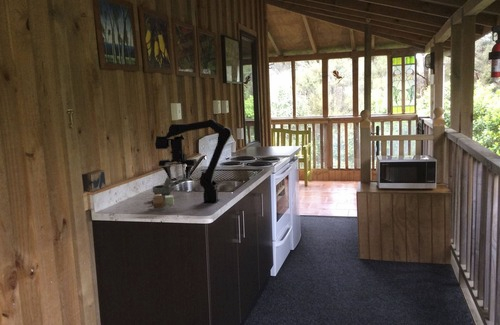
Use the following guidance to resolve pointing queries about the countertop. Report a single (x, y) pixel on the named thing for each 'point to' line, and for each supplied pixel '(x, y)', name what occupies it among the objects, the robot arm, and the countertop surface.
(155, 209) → the slate coaster
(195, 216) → the countertop surface
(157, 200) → the walnut block
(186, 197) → the countertop surface
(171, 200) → the sage block
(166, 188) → the mortar and pestle
